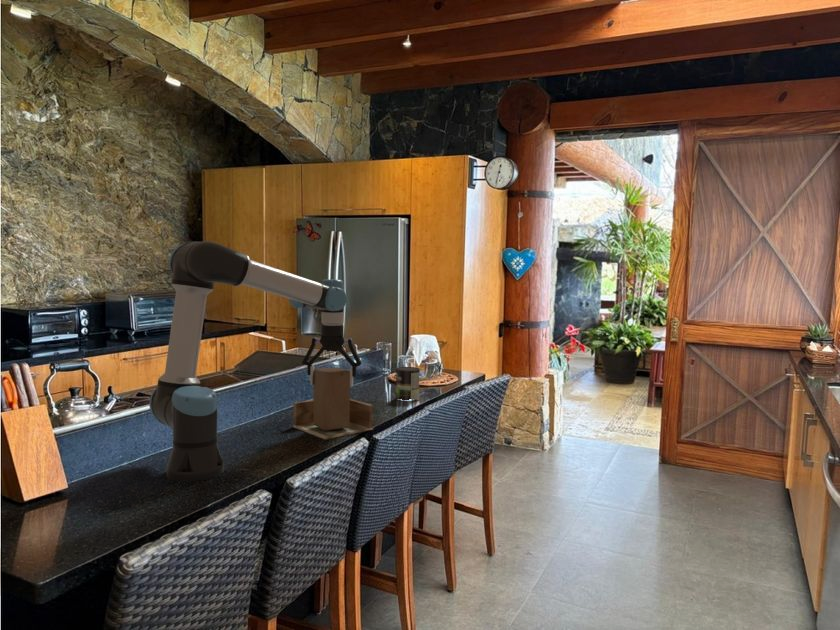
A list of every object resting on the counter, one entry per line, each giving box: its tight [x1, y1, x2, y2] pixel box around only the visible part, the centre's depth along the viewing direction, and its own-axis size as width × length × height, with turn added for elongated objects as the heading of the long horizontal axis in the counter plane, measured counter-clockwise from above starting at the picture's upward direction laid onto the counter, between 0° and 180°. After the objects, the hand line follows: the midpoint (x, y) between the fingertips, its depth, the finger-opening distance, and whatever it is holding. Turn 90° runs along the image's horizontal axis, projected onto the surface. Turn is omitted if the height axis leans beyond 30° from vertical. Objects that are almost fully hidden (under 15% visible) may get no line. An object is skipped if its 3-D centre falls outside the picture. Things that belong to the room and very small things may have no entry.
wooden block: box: [313, 367, 351, 430], centre depth 222 cm, size 10×10×20 cm
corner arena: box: [293, 398, 374, 440], centre depth 226 cm, size 20×20×9 cm
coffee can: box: [395, 366, 421, 400], centre depth 275 cm, size 10×10×14 cm
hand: (331, 385), depth 222 cm, fingers closed on wooden block, 13 cm apart
